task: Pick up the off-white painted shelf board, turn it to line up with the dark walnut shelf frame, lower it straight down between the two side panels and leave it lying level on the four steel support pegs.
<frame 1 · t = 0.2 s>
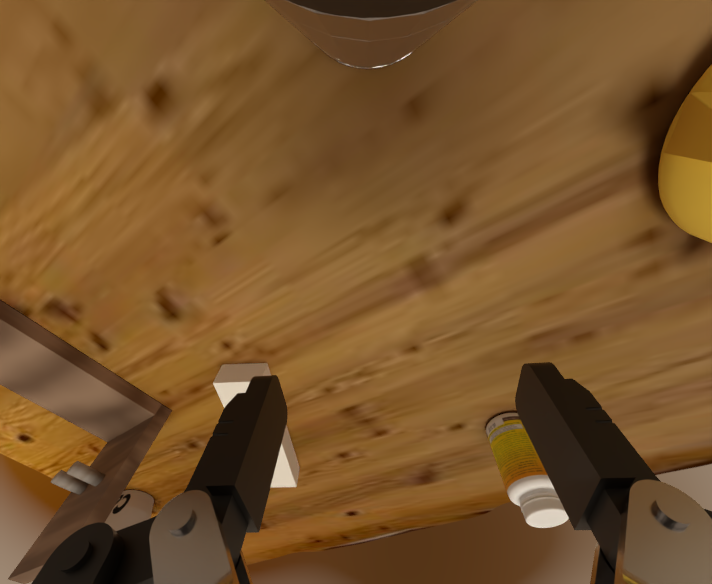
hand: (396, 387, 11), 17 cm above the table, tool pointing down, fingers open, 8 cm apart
cup: (138, 496, 52), on the table
shelf frame: (47, 364, 35), on the table
supplement bottle: (507, 423, 39), on the table
shelf board: (267, 420, 41), on the table
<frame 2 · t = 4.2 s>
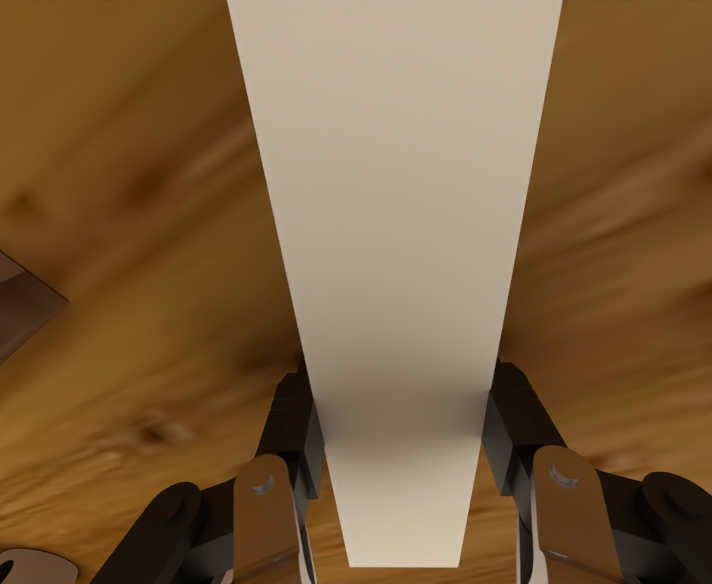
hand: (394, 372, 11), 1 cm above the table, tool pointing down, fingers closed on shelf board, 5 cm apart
cup: (43, 561, 23), on the table
shelf board: (393, 351, 12), on the table, touching gripper
when the fingers open (11 cm above the table, at t = 11.0 s): shelf board drops 1 cm, resting on shelf frame.
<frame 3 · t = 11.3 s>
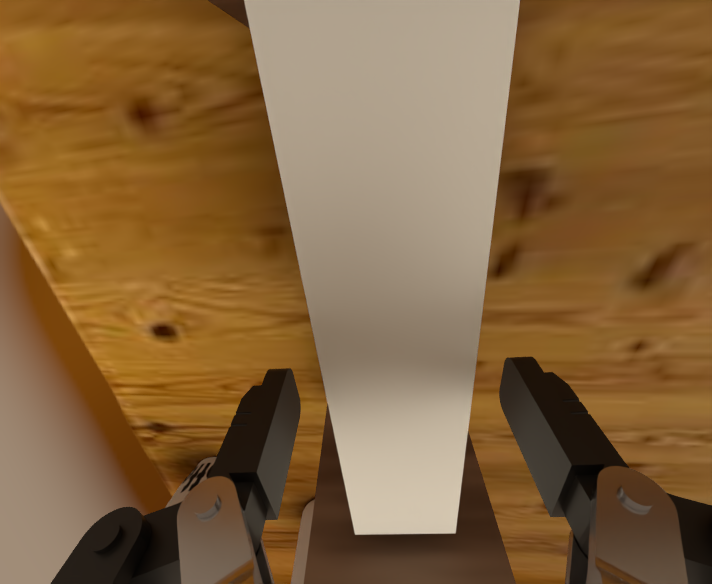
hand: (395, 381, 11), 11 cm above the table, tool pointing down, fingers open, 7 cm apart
cup: (223, 469, 34), on the table
shelf frame: (382, 250, 21), on the table
milk bottle: (335, 509, 38), on the table
shelf board: (391, 329, 13), point 9 cm above the table, touching shelf frame
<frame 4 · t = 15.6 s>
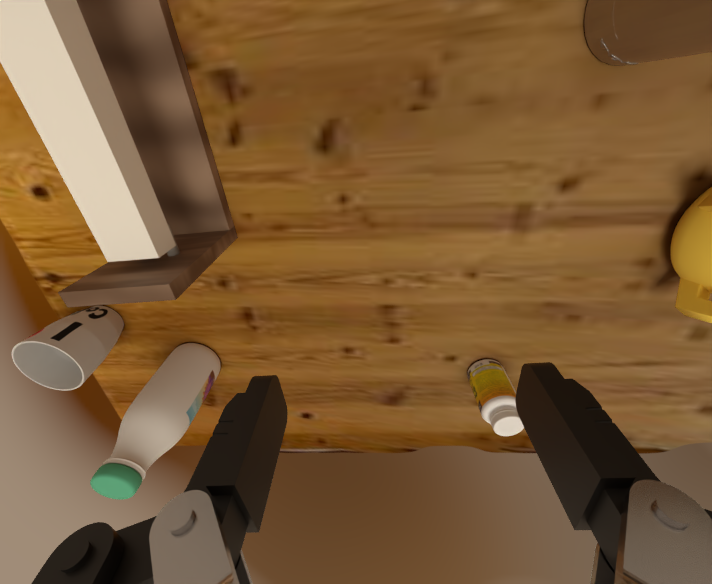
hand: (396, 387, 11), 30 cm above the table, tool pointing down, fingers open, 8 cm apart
cup: (107, 319, 48), on the table
shelf frame: (158, 126, 34), on the table
milk bottle: (198, 359, 51), on the table
supplement bottle: (483, 369, 50), on the table
shelf board: (99, 130, 27), point 9 cm above the table, touching shelf frame
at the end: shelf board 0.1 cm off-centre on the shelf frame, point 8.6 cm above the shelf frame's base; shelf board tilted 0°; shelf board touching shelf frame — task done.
